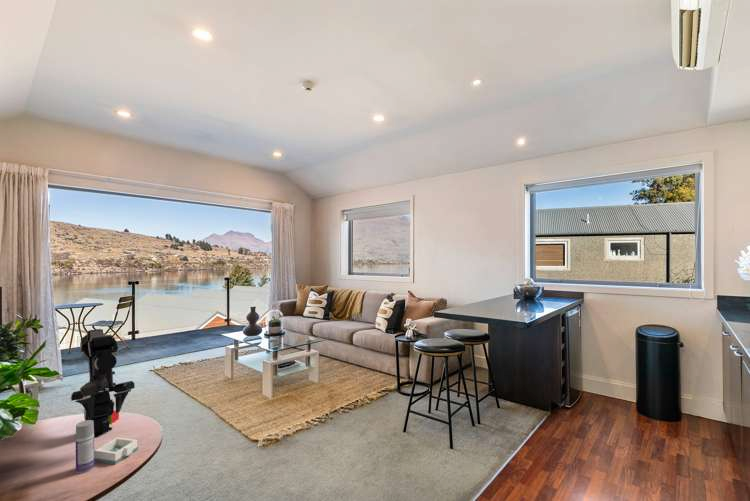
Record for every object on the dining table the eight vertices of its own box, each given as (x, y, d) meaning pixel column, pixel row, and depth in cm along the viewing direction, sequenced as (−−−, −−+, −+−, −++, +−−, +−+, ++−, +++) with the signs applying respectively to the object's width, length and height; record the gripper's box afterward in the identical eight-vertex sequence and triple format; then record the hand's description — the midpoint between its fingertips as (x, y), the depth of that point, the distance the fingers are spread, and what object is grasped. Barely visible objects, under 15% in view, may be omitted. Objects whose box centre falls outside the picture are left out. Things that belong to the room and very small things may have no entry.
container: (78, 466, 118) (78, 421, 118) (96, 463, 120) (96, 418, 120) (73, 474, 114) (73, 427, 114) (91, 471, 115) (91, 425, 115)
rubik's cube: (111, 424, 146) (111, 412, 146) (98, 425, 146) (98, 413, 146) (119, 419, 151) (119, 407, 151) (106, 419, 151) (106, 407, 151)
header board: (93, 461, 121) (93, 450, 121) (117, 446, 130) (117, 437, 130) (117, 464, 119) (117, 454, 119) (140, 449, 128) (140, 440, 128)
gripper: (57, 379, 122) (58, 427, 120) (114, 369, 124) (116, 416, 121) (82, 374, 133) (83, 418, 131) (134, 365, 135) (136, 408, 132)
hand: (104, 415), depth 128 cm, fingers open, 9 cm apart
